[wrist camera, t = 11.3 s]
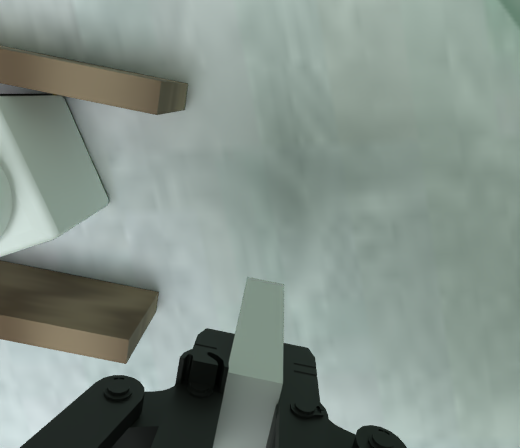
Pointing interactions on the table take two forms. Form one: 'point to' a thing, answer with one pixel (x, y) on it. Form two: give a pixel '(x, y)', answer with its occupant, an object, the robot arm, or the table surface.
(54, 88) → the box
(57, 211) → the medicine bottle
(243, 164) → the table surface
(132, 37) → the table surface
